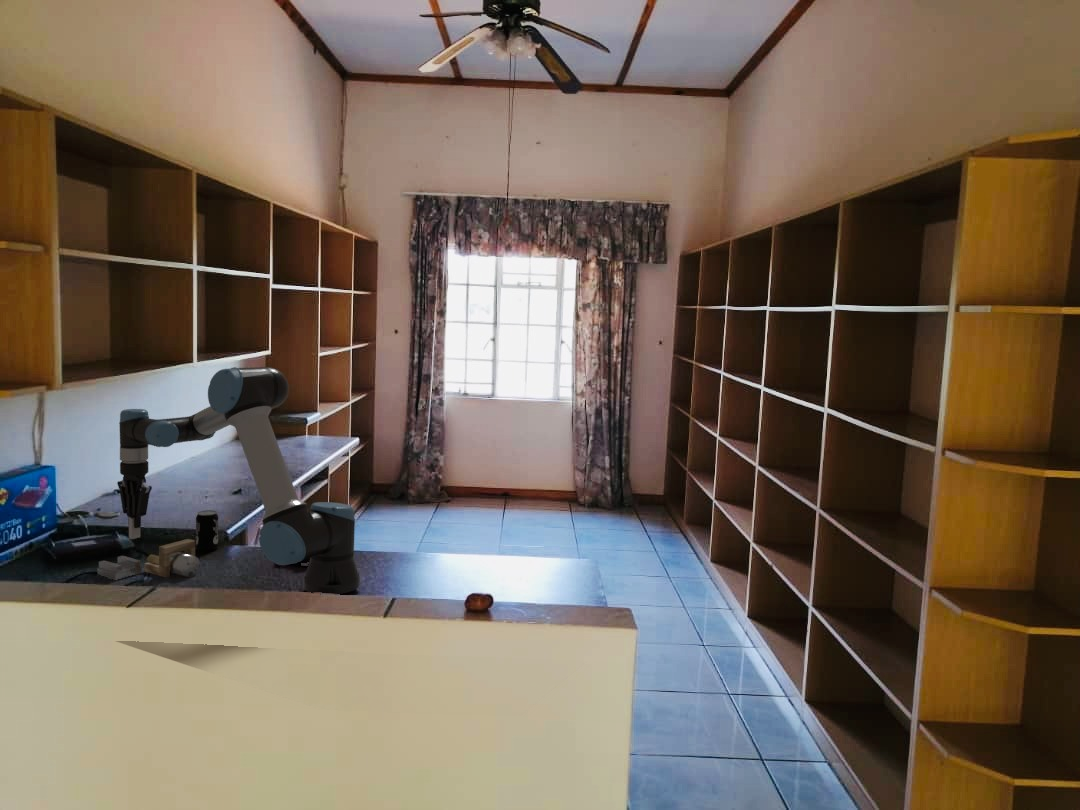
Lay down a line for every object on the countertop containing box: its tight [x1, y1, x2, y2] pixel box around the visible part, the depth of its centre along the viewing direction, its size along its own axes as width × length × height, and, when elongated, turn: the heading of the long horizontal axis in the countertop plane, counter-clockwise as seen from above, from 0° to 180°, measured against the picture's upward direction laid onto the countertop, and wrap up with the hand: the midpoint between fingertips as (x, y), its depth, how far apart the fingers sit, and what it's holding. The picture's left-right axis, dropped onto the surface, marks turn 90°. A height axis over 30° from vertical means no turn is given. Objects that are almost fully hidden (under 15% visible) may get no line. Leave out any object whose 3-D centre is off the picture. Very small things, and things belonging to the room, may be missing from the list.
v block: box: [97, 555, 143, 581], centre depth 219 cm, size 8×8×4 cm
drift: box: [146, 554, 159, 565], centre depth 228 cm, size 10×3×3 cm
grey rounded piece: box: [170, 551, 201, 578], centre depth 222 cm, size 9×6×6 cm, turn 62°
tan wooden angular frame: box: [143, 538, 196, 579], centre depth 224 cm, size 10×10×9 cm
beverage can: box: [195, 509, 219, 552], centre depth 246 cm, size 7×7×12 cm
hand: (134, 537), depth 231 cm, fingers closed
